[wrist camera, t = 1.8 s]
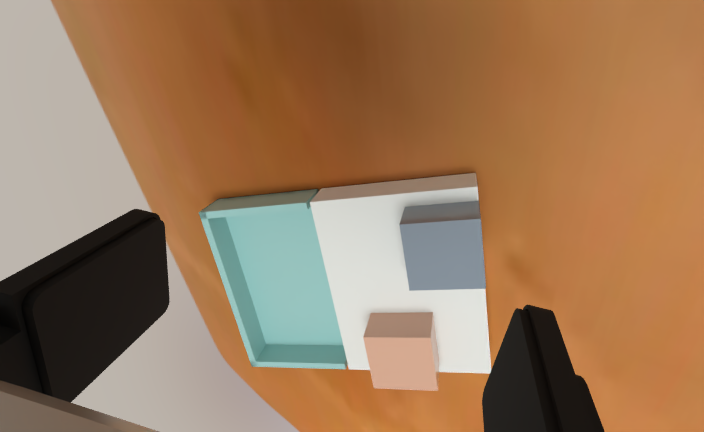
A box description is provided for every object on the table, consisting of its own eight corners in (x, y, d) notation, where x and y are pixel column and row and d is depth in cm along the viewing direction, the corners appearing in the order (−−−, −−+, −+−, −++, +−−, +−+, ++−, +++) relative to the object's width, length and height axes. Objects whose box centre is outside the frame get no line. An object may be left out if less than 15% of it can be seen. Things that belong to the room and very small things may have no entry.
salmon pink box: (432, 312, 32) (430, 337, 29) (439, 362, 34) (437, 390, 31) (370, 312, 33) (363, 337, 31) (380, 361, 35) (373, 388, 33)
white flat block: (476, 172, 30) (477, 186, 27) (488, 348, 36) (491, 373, 33) (321, 188, 33) (309, 202, 31) (356, 346, 39) (349, 369, 37)
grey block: (478, 200, 28) (480, 218, 25) (483, 265, 29) (485, 288, 27) (404, 206, 29) (399, 224, 26) (413, 268, 31) (409, 290, 28)
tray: (318, 188, 33) (305, 202, 31) (353, 346, 39) (345, 369, 37) (217, 199, 36) (198, 212, 33) (264, 345, 42) (251, 366, 39)
